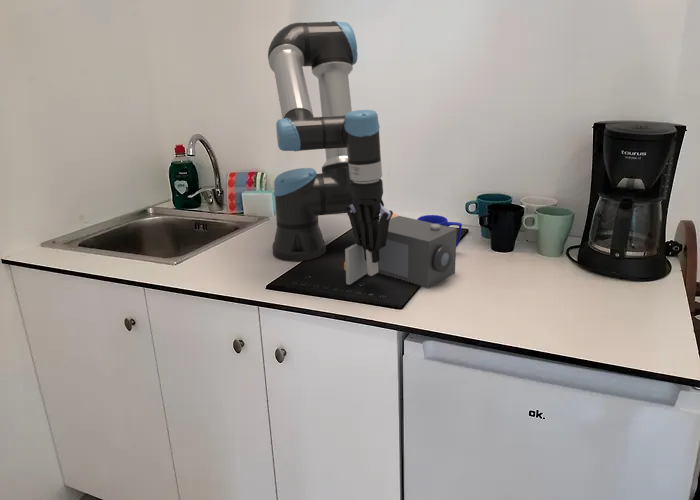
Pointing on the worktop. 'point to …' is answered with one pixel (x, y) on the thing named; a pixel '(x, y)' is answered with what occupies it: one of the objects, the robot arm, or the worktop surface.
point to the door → (354, 263)
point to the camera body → (418, 251)
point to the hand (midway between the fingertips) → (373, 273)
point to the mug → (441, 222)
